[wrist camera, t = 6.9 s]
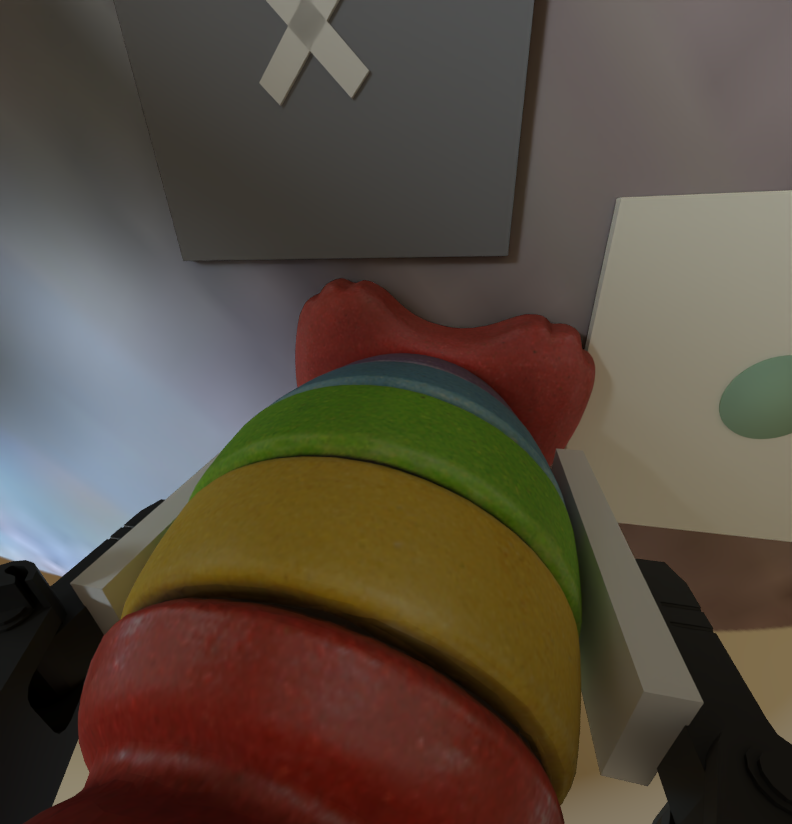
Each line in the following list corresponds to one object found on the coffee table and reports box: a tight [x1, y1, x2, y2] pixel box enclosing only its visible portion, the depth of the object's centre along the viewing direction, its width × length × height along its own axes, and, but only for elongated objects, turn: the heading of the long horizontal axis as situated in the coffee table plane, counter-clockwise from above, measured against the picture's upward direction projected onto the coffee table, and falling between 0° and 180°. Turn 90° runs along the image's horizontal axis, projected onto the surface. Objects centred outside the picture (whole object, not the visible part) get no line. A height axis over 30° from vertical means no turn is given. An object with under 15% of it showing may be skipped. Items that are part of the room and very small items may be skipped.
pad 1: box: [113, 0, 534, 261], centre depth 10 cm, size 12×12×1 cm
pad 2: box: [564, 190, 792, 542], centre depth 12 cm, size 12×12×1 cm
